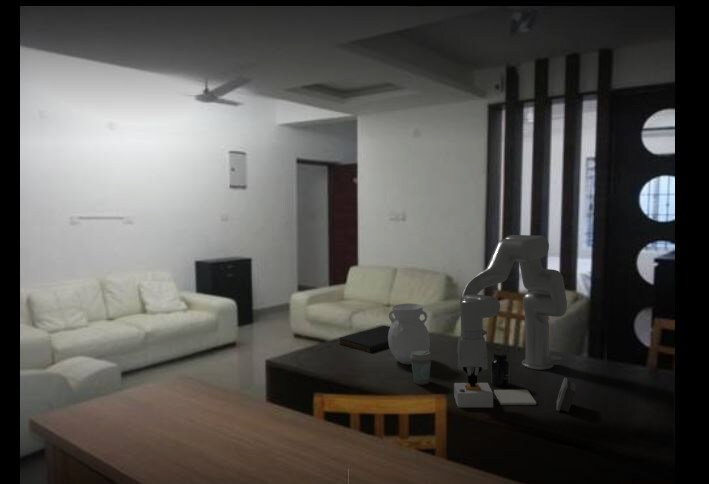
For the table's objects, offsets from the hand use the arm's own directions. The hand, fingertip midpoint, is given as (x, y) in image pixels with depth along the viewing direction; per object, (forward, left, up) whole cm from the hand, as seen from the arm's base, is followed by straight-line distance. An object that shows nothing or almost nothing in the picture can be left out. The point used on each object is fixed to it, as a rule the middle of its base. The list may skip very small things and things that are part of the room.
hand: (472, 385), depth 179 cm
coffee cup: (+17, -20, -6) cm, 27 cm away
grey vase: (+21, -46, -6) cm, 51 cm away
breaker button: (0, 0, -4) cm, 4 cm away
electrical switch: (-30, +5, -6) cm, 31 cm away
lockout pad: (-15, -3, -6) cm, 17 cm away
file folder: (+36, -80, -7) cm, 88 cm away
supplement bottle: (-13, -17, -6) cm, 23 cm away
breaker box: (0, 0, -6) cm, 6 cm away
